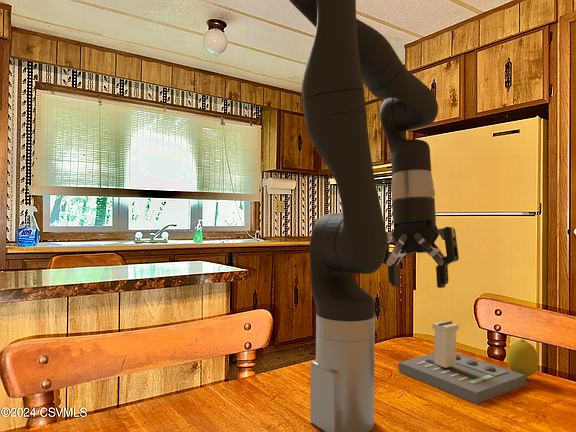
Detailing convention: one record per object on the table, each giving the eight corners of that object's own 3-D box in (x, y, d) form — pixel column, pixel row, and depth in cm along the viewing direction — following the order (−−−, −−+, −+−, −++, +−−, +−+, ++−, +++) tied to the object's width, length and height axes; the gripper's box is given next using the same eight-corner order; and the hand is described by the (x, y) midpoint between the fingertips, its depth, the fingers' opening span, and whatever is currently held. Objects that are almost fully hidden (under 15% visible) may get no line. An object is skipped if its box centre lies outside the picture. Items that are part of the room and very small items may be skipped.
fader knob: (446, 368, 84) (446, 325, 84) (432, 363, 87) (432, 322, 87) (458, 364, 86) (458, 323, 86) (444, 360, 89) (444, 319, 89)
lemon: (544, 383, 83) (544, 342, 83) (516, 384, 83) (515, 343, 83) (528, 373, 89) (528, 335, 89) (502, 374, 89) (501, 335, 89)
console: (476, 404, 74) (476, 389, 74) (398, 371, 89) (398, 359, 89) (525, 385, 83) (525, 371, 83) (447, 358, 98) (447, 347, 98)
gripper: (368, 200, 79) (372, 287, 78) (444, 190, 70) (451, 289, 69) (386, 203, 85) (390, 285, 84) (459, 195, 76) (465, 286, 75)
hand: (417, 286), depth 76 cm, fingers open, 8 cm apart
